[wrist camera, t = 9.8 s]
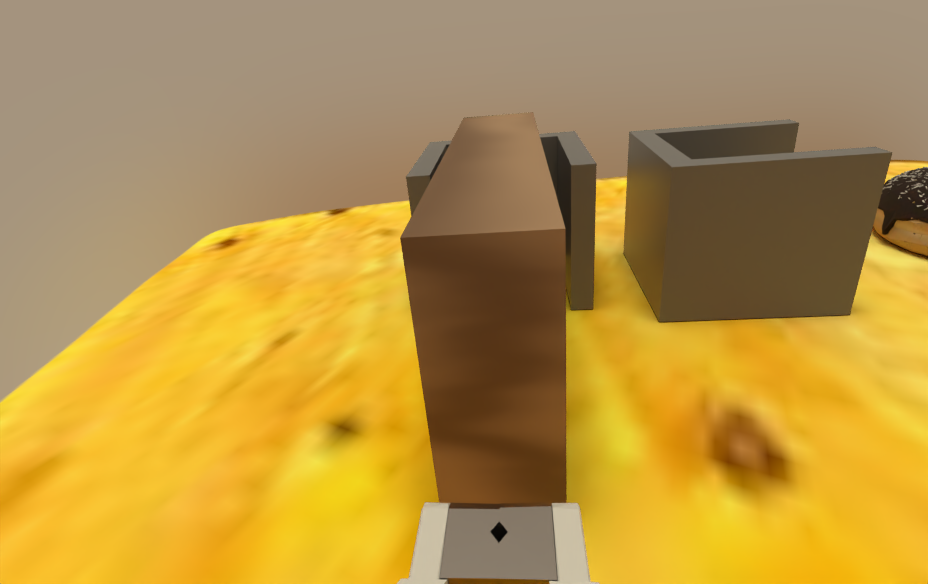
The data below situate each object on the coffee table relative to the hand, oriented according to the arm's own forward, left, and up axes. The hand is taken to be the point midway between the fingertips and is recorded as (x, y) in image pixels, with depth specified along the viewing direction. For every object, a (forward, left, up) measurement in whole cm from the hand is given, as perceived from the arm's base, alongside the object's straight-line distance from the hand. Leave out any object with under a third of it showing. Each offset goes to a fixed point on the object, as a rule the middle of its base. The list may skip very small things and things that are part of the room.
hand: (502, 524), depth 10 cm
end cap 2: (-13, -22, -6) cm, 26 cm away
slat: (0, -15, -6) cm, 16 cm away
